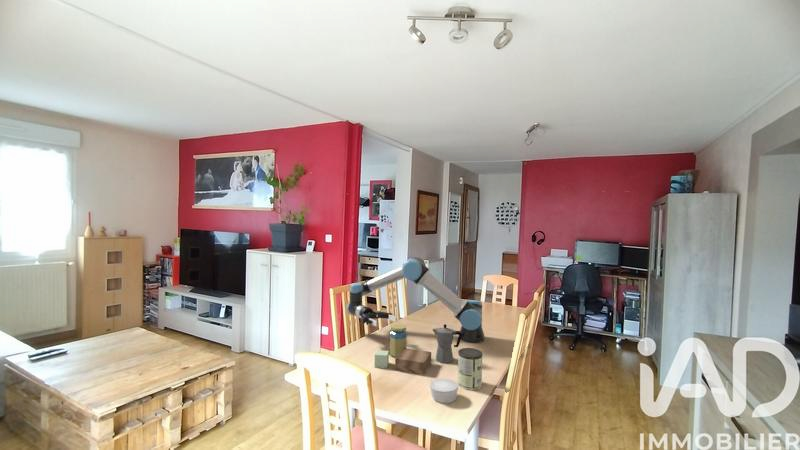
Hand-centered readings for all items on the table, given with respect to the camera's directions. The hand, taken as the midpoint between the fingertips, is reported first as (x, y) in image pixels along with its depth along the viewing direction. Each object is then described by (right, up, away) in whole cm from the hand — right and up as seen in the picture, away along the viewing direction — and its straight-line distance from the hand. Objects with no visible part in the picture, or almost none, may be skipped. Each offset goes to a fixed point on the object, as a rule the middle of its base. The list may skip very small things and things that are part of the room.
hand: (386, 321), depth 188 cm
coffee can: (+37, -16, -39) cm, 56 cm away
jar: (+6, -15, -7) cm, 18 cm away
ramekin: (+25, -16, -50) cm, 58 cm away
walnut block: (+14, -16, -22) cm, 30 cm away
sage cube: (-2, -15, -20) cm, 26 cm away
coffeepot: (+31, -16, -13) cm, 37 cm away
